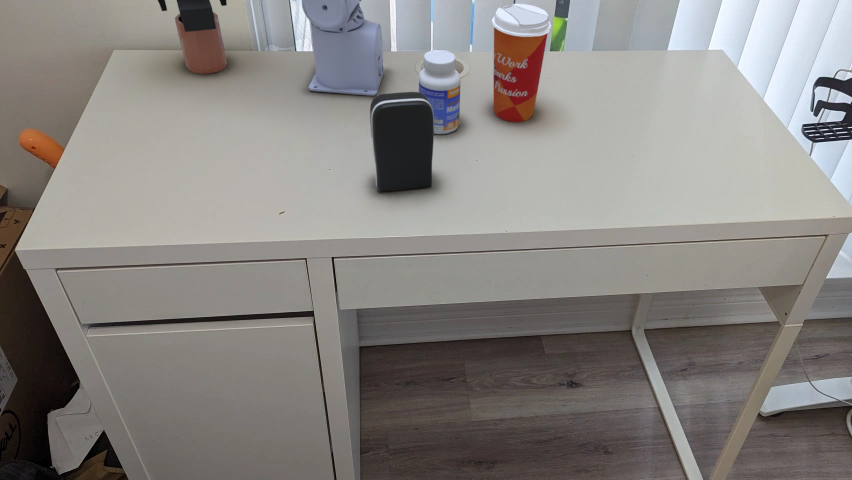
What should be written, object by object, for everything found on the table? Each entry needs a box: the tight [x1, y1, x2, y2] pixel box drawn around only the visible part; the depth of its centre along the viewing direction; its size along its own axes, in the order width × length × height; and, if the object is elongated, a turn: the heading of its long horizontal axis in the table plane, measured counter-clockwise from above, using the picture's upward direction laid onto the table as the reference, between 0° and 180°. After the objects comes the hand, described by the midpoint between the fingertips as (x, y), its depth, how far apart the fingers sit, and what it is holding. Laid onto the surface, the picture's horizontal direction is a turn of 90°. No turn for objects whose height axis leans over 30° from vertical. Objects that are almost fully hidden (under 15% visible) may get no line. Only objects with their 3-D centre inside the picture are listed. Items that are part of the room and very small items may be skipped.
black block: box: [176, 0, 216, 32], centre depth 99 cm, size 9×4×3 cm, turn 24°
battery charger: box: [369, 91, 435, 192], centre depth 83 cm, size 7×4×11 cm, turn 106°
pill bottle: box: [418, 49, 461, 135], centre depth 94 cm, size 5×5×10 cm
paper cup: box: [491, 3, 552, 123], centre depth 97 cm, size 8×8×14 cm
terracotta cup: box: [174, 11, 228, 75], centre depth 103 cm, size 6×6×7 cm
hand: (194, 5), depth 99 cm, fingers open, 7 cm apart
